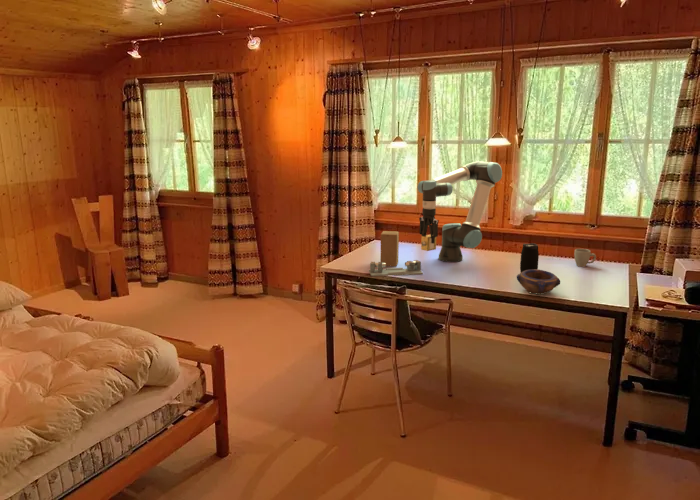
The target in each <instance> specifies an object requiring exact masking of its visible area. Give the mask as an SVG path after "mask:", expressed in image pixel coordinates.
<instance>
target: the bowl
mask: <svg viewBox="0 0 700 500" xmlns="http://www.w3.org/2000/svg"><path fill="white" fill-rule="evenodd" d="M516 280H517V282H518V283H519V284H520V285H521V286H522V288H523V289H524V290H525V291H526V292H528V293H529V292H531V293H530V294H532V293H537V294H536V295H541V293H544V294H548V293H549V292H551V291H552V290H554V289H555V288H557V287H558V286H559V285H560V284H561V280H560V278H559V277H557V276H556V275H555V274H554V273H552V272H550V271H547V270H543V269H532V270H525V271H523V272H519V273H518V274H517V275H516Z"/></svg>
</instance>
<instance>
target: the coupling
mask: <svg viewBox="0 0 700 500" xmlns="http://www.w3.org/2000/svg"><path fill="white" fill-rule="evenodd" d="M430 237H431V235H430V234H427V235H425V236H422V235H421V237H420V238H421V240H420V243H421V246H420V247H421V248H420V249H421V251H425V252H428V251H436V249H437V237H435V243H434V248H433V249H430Z"/></svg>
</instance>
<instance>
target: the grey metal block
mask: <svg viewBox="0 0 700 500" xmlns="http://www.w3.org/2000/svg"><path fill="white" fill-rule="evenodd" d="M404 266H405V267H406V269H407V270H408V271H410V272H411V271H414V269H415V270H417V271H420V270H421V271H422V262H421V261H420V260H418V259H415V260H413V261H412V260H407V261H406V262H404Z"/></svg>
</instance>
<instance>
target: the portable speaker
mask: <svg viewBox="0 0 700 500" xmlns="http://www.w3.org/2000/svg"><path fill="white" fill-rule="evenodd" d="M539 254H540V253H539V245H538V244H537V243H535V242H534V243H533V242H530V243H523V245H522V249H521V253H520V264H519V270H520V272H519V273H521V272H523V271H525V270H532V269H538V268H539V256H540V255H539Z"/></svg>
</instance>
